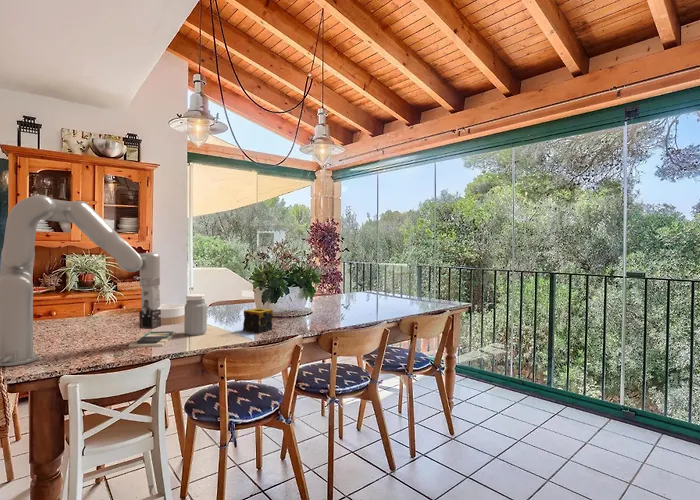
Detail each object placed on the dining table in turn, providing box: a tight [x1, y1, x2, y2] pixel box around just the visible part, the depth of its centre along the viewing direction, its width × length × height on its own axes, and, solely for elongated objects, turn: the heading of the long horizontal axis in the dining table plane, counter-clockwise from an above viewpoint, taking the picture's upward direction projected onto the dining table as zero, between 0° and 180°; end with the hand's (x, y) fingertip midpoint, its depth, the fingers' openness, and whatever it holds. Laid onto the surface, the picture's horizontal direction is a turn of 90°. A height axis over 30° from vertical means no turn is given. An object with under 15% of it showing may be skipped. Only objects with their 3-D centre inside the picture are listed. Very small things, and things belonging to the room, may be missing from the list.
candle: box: [242, 307, 274, 334], centre depth 201 cm, size 10×10×10 cm
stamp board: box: [128, 330, 177, 348], centre depth 179 cm, size 22×13×2 cm, turn 9°
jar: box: [183, 293, 208, 337], centre depth 192 cm, size 10×10×18 cm
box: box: [138, 309, 162, 330], centre depth 174 cm, size 6×6×7 cm
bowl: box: [157, 303, 186, 326], centre depth 218 cm, size 17×17×8 cm
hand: (150, 324), depth 174 cm, fingers closed on box, 7 cm apart
